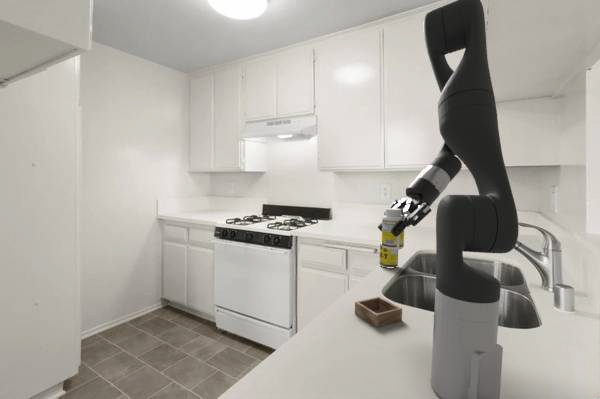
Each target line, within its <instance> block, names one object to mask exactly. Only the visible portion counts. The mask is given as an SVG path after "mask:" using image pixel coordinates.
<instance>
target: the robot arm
mask: <svg viewBox="0 0 600 399" xmlns="http://www.w3.org/2000/svg"><path fill="white" fill-rule="evenodd" d="M422 24H423V25H422V29H423V30H422V31H423V39H424V40H423V41H424V44H425V49H426V51H427V52H426V53H427V56H428V59H429V61H430V66H431V68H432V71H433V74H434V77H435V81H436V84H437V86H438V89H439V91H440V94H439V97H438V101H437V114H438V115H437V117H438V126H439V128H438V129H439V133H440V136H441V137H442V140H443V144H442V146H441V148H440V149H439V151H438V153H437V155H436V156H435V158H434V159H433V160H432V161H431V162H430V163H429V164H428V166H427V167H425V168H424V169H423V170H421V172H420V173H418V175H417V176H416V177H415V179H414V180H412V182H411V183H410V184H409V185H408V186H407V187H406V189H405V196H404V197H403V198H402V199H400V200H398V199H397V198H395V199H393V200H392V202H391V203H390V204H389V205H388V207H387V208H396V209H401V213H402V214H401V216H402V218H401V220H402V221H399V222H398V223H397V224H396V225H395V226H394V227H393V228H392V229H391V233H392V234H393V235H394V236H396V237H398V236H399V235H400V234H401V232H402V231H403V230H404V231H405V229H406V228H408V227H410V226H413V227H415V226H417V225H418V224H419V223H420V222H421V221H422V220H424V218H426V217H427V216H428V215H429V214H430V213H431V212H432V209H431V206H432V205H433V203H434V202H435V201H436V200H438V198H439V197H440V196H441V194H442V193H443V192H444V191H445V190H446V188H447V187H448V186H449V184H450V182H452V181H453V179H454V178H455V177H456V176H457V175H458V174H459V173H460V172H461V169H462V167H463V165H464V166H466V168H467V169H468V171H469V173H471V176H472V177H473V180H474V182H475V185H476V188H477V191H478V194H447V195H444V196H443V197H442V198H440V200H439V202H438V204H437V208H436V215H435V216H436V217H435V240H436V241H435V244H436V245H435V247H436V248H435V251H436V253H435V254H436V255H435V256H436V257H435V292H434V293H435V296H434V309H433V310H434V312H433V314H434V315H433V331H432V350H431V370H430V371H431V372H430V385H431V388H432V390H433V391H434V393H435V394H436V395H437V396H438V397H439V398H440V399H500V396H501V394H500V393H501V383H502V368H503V366H502V365H503V352H504V351H503V350H504V347H503V346H502V345H501V344H498V332H499V331H498V330H499V329H498V328H499V319H500V318H499V315H500V300H501V290H502V289H501V283H500V280H499V279H498V278H496V277H495V276H494V275H492V274H490V273H488V272H486V271H484V270H481V269H478V268H475V267H473V266H471V265H469V264H468V263H466V262H465V261H464V252H465V253H483V254H484V253H485V254H507V253H509V252H511V251H513V249H515V247H516V245H517V242H518V239H519V238H518V237H519V233H520V232H519V228H520V226H519V217H518V213H517V212H518V211H517V206H516V203H515V202H516V201H515V199H514V194H513V191H512V188H511V183H510V180H509V176H508V172H507V169H506V163H505V161H504V157H503V151H502V145H501V144H502V143H501V138H500V137H501V136H500V129H499V121H498V120H499V119H498V112H497V105H496V103H497V102H496V97H495V94H494V93H495V92H494V88H493V84H492V77H491V73H490V67H489V61H488V60H489V58H488V48H487V47H488V46H487V45H488V44H487V30H486V17H485V11H484V6H483V3H482V1H481V0H455V1H453V2H450V3H447V4H445V5H443V6H440V7H437V8H435V9H432V10H431V11H429V12H427V13H426V14H425V15H424V18H423V23H422ZM461 50H464V52H463V55H462V58H461V59H460V62H459V63H458V65H457V66H456V69H453V68H452V67H451V66H450V65H449V63H448V61H447V59H446V55H448V54H452V53H455V52H458V51H461ZM383 216H386V214H385V211H384V213H383ZM377 228H378V229H379V230H380V232H381V233H382V221H381V223H379V225H378V226H377Z"/></svg>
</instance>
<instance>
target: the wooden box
mask: <svg viewBox="0 0 600 399" xmlns="http://www.w3.org/2000/svg"><path fill="white" fill-rule="evenodd" d="M378 309H379V310H380V311H382V312H375V310H378ZM354 313H355V314H356V315H357V316H359V317H360V318H362V319H363V320H365V321H366V322H368V323H369V324H371V325H372V326H374V327H375V328H379V327H382V326H385V325H389V324H394V323H397V322H400V321H403V308H402V307H399V306H398V305H396V304H394V303H392V302H390V301H388V300H386V299H384V298H382V297H381V296H377V297H371V298H367V299H363V300H358V301H355V302H354Z"/></svg>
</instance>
